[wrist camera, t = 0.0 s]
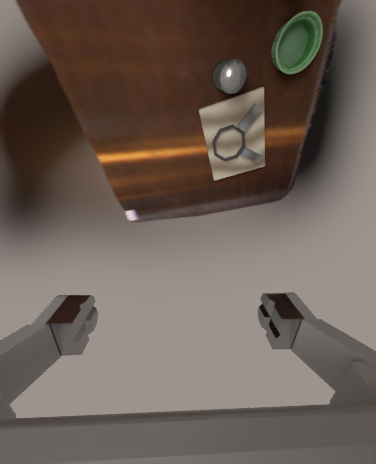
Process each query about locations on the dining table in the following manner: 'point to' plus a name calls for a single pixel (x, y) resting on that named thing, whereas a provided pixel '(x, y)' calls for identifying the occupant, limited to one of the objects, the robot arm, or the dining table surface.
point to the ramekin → (297, 42)
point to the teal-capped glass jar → (229, 76)
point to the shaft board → (235, 134)
